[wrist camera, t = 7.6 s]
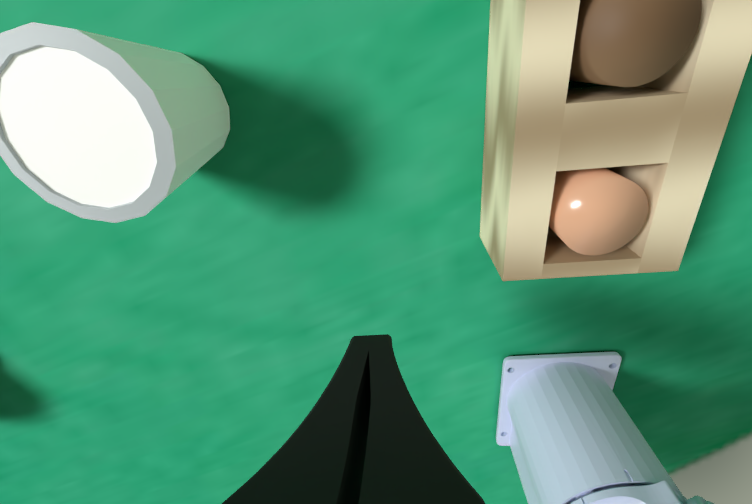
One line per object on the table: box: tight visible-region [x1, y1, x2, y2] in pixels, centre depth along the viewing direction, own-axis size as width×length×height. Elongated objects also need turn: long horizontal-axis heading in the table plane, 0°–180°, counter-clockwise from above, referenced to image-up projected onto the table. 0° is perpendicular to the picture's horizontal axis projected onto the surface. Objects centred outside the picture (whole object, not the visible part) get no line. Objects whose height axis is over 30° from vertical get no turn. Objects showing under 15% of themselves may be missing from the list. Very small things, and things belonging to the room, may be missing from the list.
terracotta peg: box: [549, 168, 648, 255], centre depth 18 cm, size 4×4×5 cm
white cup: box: [0, 22, 230, 223], centre depth 16 cm, size 7×7×7 cm
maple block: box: [480, 0, 752, 281], centre depth 17 cm, size 13×8×5 cm, turn 5°
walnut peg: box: [569, 0, 702, 87], centre depth 15 cm, size 4×4×5 cm
